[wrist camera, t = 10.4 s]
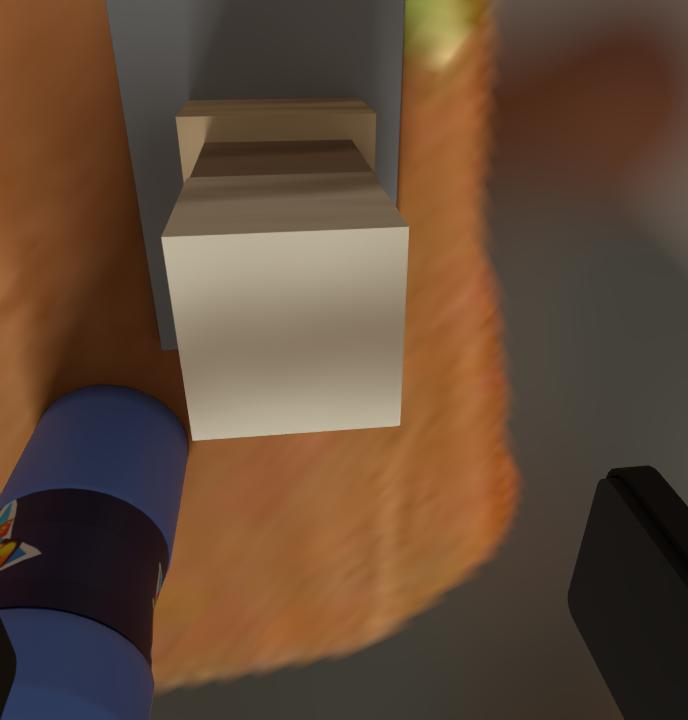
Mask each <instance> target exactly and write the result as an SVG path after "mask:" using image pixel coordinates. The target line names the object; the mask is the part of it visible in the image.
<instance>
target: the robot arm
mask: <svg viewBox="0 0 688 720" xmlns="http://www.w3.org/2000/svg"><path fill="white" fill-rule="evenodd" d="M568 605H569V609H570V613H571V615H572V618H573V620H574V622H575V623H576V625H577V628H578V630H579V632H580V633H581V635H582V637H583V639H584V641H585V643H586V645H587V647H588V649H589V651H590V653H591V655H592V657H593V659H594V661H595V663H596V665H597V667H598V669H599V671H600V672H601V674H602V676H603V678H604V680H605V682H606V684H607V686H608V688H609V690H610V692H611V694H612V696H613V698H614V700H615V702H616V704H617V706H618V707H619V710H620V711H621V713H622V715H623V717H624V719H625V720H688V506H687V505H686V504H685V503H684V502H683V500H681V498H680V497H679V496H678V494H677V493H676V492H675V491H674V490H673V489H672V487H671V486H670V485H669V484H668V483H667V482H666V480H665V479H664V478H663V477H662V476H661V474H660V473H659V472H658V471H657V470H656V469H655V468H653V467H651V466H636V467H625V468H615V469H611V470H610V471H609V473H608V475H607V477H606V479H601V480H600V481H599V483H598V485H597V488H596V492H595V495H594V499H593V503H592V506H591V510H590V514H589V518H588V521H587V525H586V529H585V532H584V536H583V540H582V543H581V547H580V551H579V554H578V558H577V562H576V566H575V569H574V573H573V577H572V580H571V584H570V588H569V591H568ZM16 665H17V661H16V654H15V651H14V648H13V646H12V643H11V641H10V639H9V636H8V634H7V631H6V629H5V627H4V624H3V622H2V620H1V617H0V720H1V717H2V714H3V711H4V708H5V705H6V702H7V699H8V696H9V694H10V691H11V688H12V685H13V682H14V678H15V674H16Z"/></svg>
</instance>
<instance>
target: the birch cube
mask: <svg viewBox="0 0 688 720" xmlns="http://www.w3.org/2000/svg"><path fill="white" fill-rule="evenodd" d="M161 239H162V245H163V252H164V258H165V265H166V271H167V278H168V284H169V291H170V297H171V304H172V310H173V317H174V323H175V330H176V336H177V343H178V349H179V356H180V362H181V369H182V375H183V382H184V388H185V394H186V401H187V407H188V414H189V420H190V427H191V433H192V440H193V441H196V440H210V439H223V438H237V437H251V436H265V435H278V434H292V433H306V432H320V431H333V430H347V429H361V428H375V427H388V426H400V414H401V392H402V370H403V348H404V326H405V305H406V283H407V261H408V239H409V226H408V225H407V223H406V222H405V220H404V219H403V217H402V216H401V214H400V213H399V211H398V210H397V208H396V207H395V205H394V204H393V202H392V201H391V199H390V198H389V196H388V195H387V193H386V192H385V190H384V189H383V187H382V186H381V184H380V183H379V181H378V180H377V178H376V177H375V175H374V174H373V172H342V173H311V174H281V175H251V176H220V177H190V178H187V179H186V181H185V183H184V186H183V188H182V190H181V193H180V195H179V197H178V200H177V202H176V204H175V206H174V209H173V211H172V213H171V216H170V218H169V220H168V223H167V225H166V227H165V230H164V232H163V234H162V237H161Z"/></svg>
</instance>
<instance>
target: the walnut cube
mask: <svg viewBox="0 0 688 720" xmlns="http://www.w3.org/2000/svg"><path fill="white" fill-rule="evenodd" d="M342 172H373V170H372V169H371V167H370V166H369V165H368V163H367V162H366V160H365V159H364V157H363V156H362V154H361V153H360V151H359V150H358V148H357V147H356V145H355V144H354V142H353V141H352V140H309V141H262V142H215V143H204V144H203V147H202V149H201V151H200V154H199V156H198V159H197V161H196V163H195V166H194V168H193V171H192V173H191V175H190V177H220V176H251V175H281V174H311V173H342ZM373 174H374V172H373Z"/></svg>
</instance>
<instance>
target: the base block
mask: <svg viewBox="0 0 688 720" xmlns="http://www.w3.org/2000/svg"><path fill="white" fill-rule="evenodd" d="M176 124H177V132H178V140H179V148H180V157H181V165H182V173H183V181H184V183H185V181H186V179H187V178H190V175H191V173H192V171H193V168H194V166H195V163H196V161H197V159H198V156H199V154H200V151H201V149H202V147H203V144H204V143H215V142H262V141H309V140H352V141H353V142H354V144H355V145H356V147H357V148H358V150H359V151H360V153H361V154H362V156H363V157H364V159H365V160H366V162H367V163H368V165H369V166H370V167H371V169H372V170H373V172H374V175H375V141H376V113H375V112H374V111H373V110H372V109H371V108H370V107H369V106H368V105H367V104H366V103H364V102H363V101H362V100H361V99H360V98H316V99H248V100H188V101H187V103H186V104H185V105H184V107H183V108H182V109H181V110H180V112H179V113H178V114H177V116H176Z"/></svg>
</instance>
